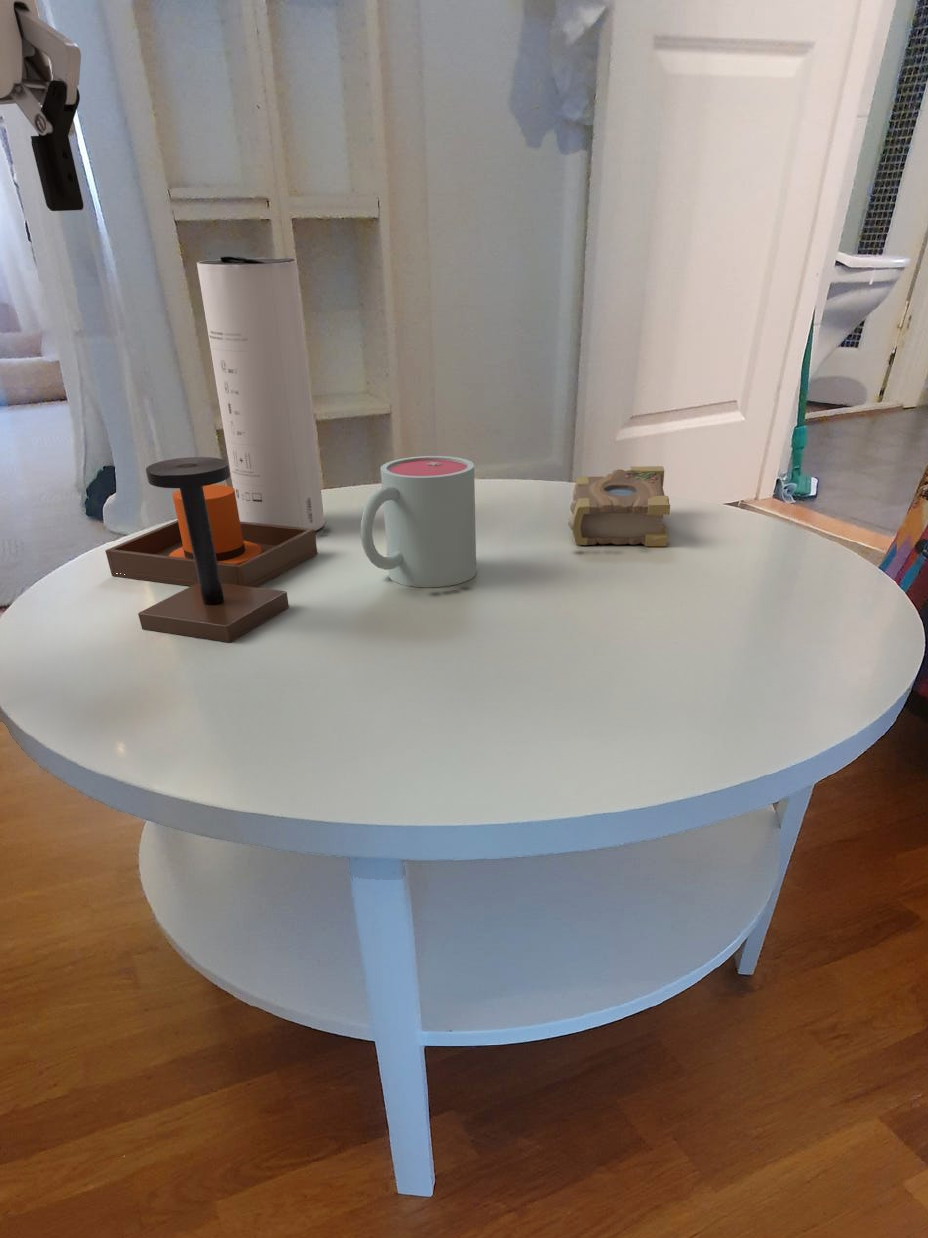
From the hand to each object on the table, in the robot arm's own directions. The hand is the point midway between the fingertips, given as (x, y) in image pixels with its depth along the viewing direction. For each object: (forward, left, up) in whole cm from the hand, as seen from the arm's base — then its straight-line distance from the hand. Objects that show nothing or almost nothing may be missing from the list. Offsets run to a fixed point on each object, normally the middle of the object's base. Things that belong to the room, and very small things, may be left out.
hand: (16, 211), depth 70 cm
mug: (+21, +21, -30) cm, 42 cm away
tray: (-2, +18, -30) cm, 35 cm away
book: (+35, +45, -30) cm, 65 cm away
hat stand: (+8, +4, -30) cm, 32 cm away
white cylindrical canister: (-3, +33, -30) cm, 45 cm away
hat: (-2, +18, -30) cm, 35 cm away
